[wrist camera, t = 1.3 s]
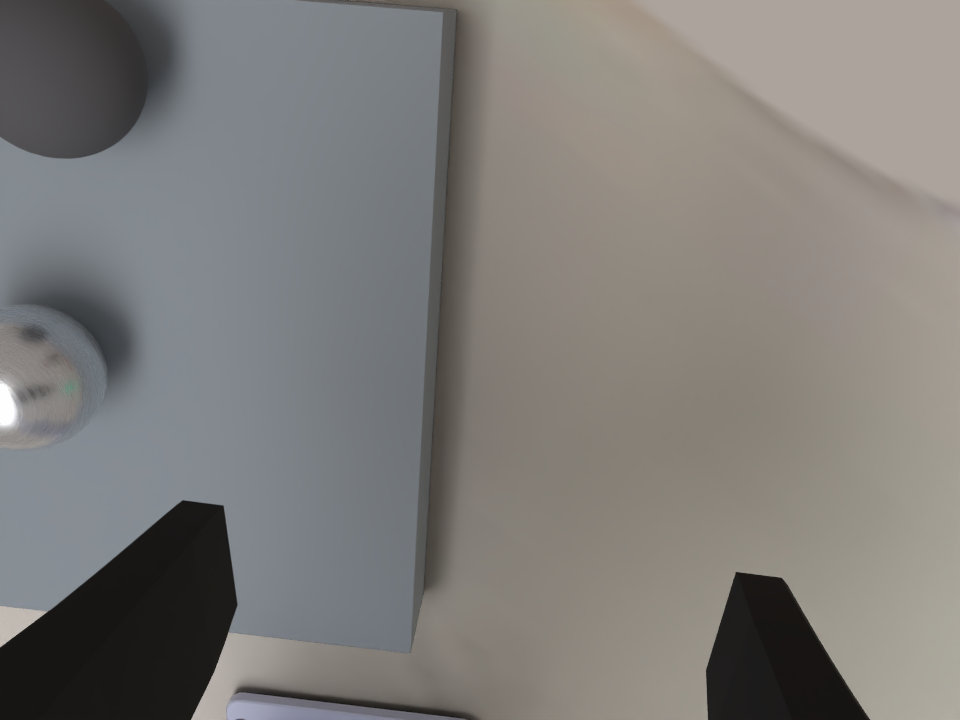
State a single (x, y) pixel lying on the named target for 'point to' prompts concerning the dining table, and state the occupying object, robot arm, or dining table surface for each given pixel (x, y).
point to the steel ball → (46, 377)
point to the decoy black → (68, 76)
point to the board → (249, 311)
